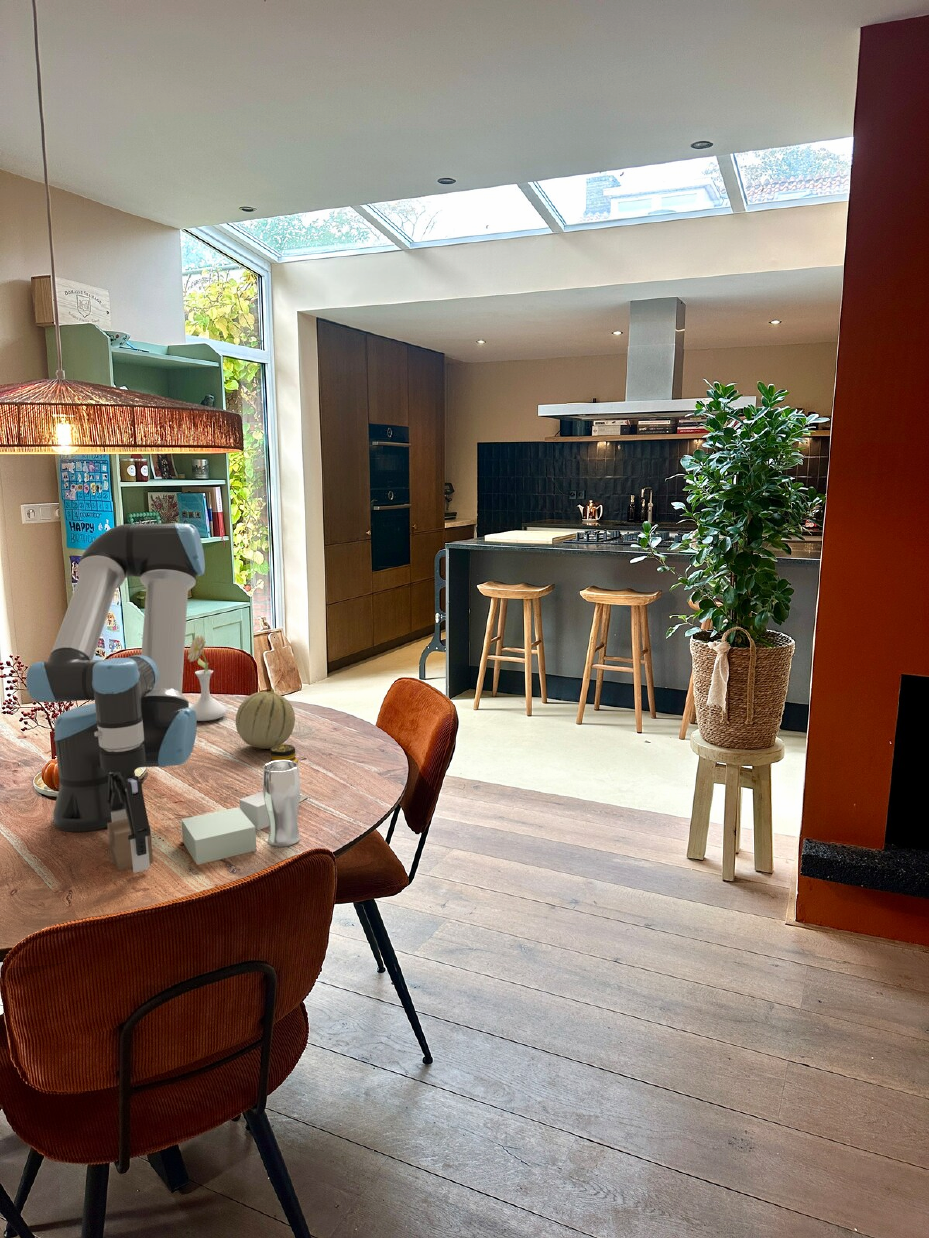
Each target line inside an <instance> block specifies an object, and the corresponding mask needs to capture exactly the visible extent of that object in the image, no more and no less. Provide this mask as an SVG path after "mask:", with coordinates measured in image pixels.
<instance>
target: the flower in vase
mask: <svg viewBox="0 0 929 1238" xmlns="http://www.w3.org/2000/svg"><path fill="white" fill-rule="evenodd" d="M205 639H206V638H205V637H204V636H203V634H201V635H200V636H199V635H197V636H196V637H195V638H194V640H191V644H190V648H188V650H187V653H188V655H187V660H189V662H190V663H192V662H194V661H197V664H198V665H199V666H200V667H201V668H203V669H201V670H196V671H195V672H194V674H195V675H196V676H197V678H198V681H199V685H200V697H199V699H198V700H196V702H194V703H193V704H192V705H191V706H190V707H189V708H191V709H193V710H194V711H195V713H196V717H197V722H207V721H215V720H217V719H221V718H223V717H225V716H226V715H227V713H228V709H227V707H226V706H225V705H223V704H222V703H220V702H219V701H217V700H216V699H214V698H213V697H212V696H211V693H210V679H211V676H212V674H213V673H214V670H211V669H209V662H207V659H206V655H205V654H204V653H203V651H204V650H205V646H206V640H205ZM201 655H202V656H203V658H204V661H203V660H202V659H201V658H200V656H201Z"/></svg>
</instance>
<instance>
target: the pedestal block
mask: <svg viewBox="0 0 929 1238" xmlns="http://www.w3.org/2000/svg"><path fill="white" fill-rule="evenodd" d="M180 820H181V833H182V843H183V844H184V846H185V848H186V849H187V851H188V853H189V854H190V857H191V858H192V860H193V861H194V862H195V864H196V865H202V864H206V863H210V862H215V861H218V860H223V859H226V858H230V857H234V856H240V855H243V854H247V853H251V852H256V851H257V850H258V849H257V835H256V829H255V826H254V825H253V824H252V822H251V821H250V820H249V819H248V818H247V817H246V815H245V814H244V813H243V812H242V811H241V809H240V806H237V807H233V808H227V809H223V810H218V811H214V812H210V813H209V812H208V813H204V814H200V815H199V814H198V815H195V816H190V817H185V818H181V819H180Z"/></svg>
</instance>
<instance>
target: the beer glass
mask: <svg viewBox="0 0 929 1238" xmlns="http://www.w3.org/2000/svg"><path fill="white" fill-rule="evenodd" d="M262 791H263V796H264V801H265V806H266V810H267V814H268V818H269V824H270V826H269V832H268V839H267V842H268V844H269V845H271V846H273V847H278V848H281V847H282V848H283V847H290V846H294V845H295V844H297V843H298V842H300V840H301V834H300V830H299V824H298V817H299V815H298V814H299V813H298V812H299V806H300V802H299V800H300V795H301V781H300V772H299V763H298V764H297V763H296V762H294V761H290V760H279V761H273V762H268V763H264V765H263V766H262Z"/></svg>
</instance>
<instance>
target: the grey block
mask: <svg viewBox="0 0 929 1238" xmlns="http://www.w3.org/2000/svg"><path fill="white" fill-rule="evenodd" d="M239 808H240V809H241V811H242V812H243V813H244V814H245V815H246V817H247V818H248V819H249V820H250V821H251V822H252V824H253V825H254V826H255V830H258V831H260V830H262V829H265V828H269V827H270V824H269V818H268V814H267V810H266V806H265V801H264V796H263V790H262V791H260V792H257V793H253V794H251V795H248V796H246V797H242V798H240V799H239Z"/></svg>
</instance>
